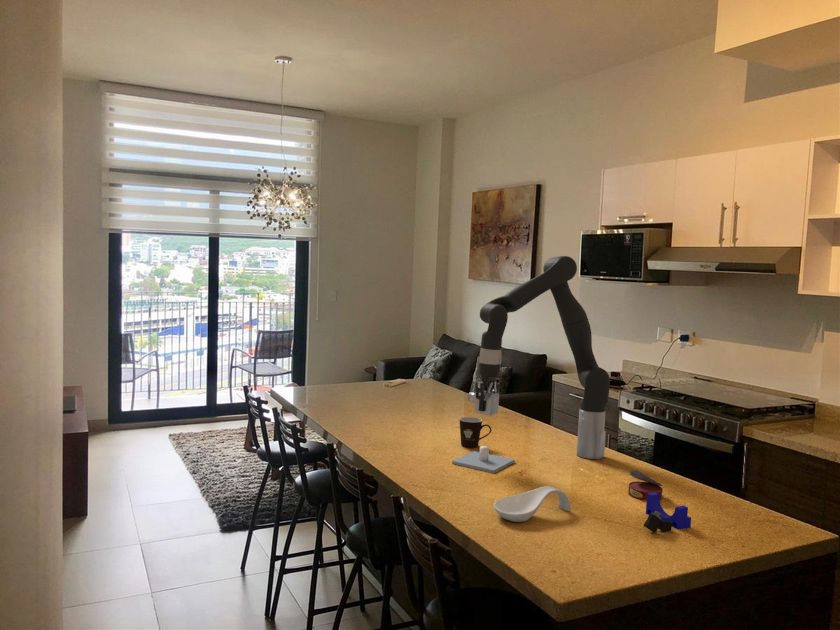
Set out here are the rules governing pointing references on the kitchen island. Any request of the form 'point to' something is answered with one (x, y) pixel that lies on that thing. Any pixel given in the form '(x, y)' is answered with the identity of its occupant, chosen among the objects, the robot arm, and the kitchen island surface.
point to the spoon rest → (528, 503)
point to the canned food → (643, 486)
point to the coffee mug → (471, 431)
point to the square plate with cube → (483, 460)
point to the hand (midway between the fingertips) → (486, 409)
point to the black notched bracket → (657, 523)
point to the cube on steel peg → (491, 403)
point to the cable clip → (678, 517)
